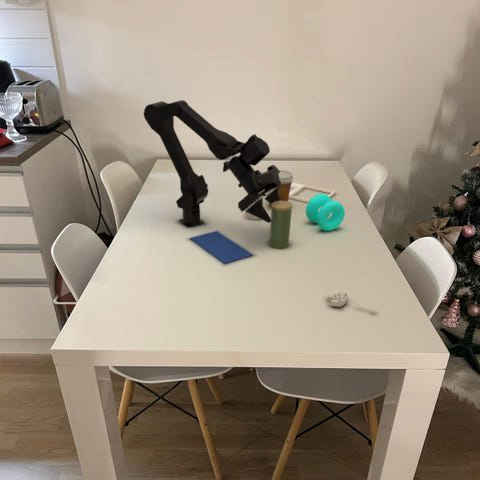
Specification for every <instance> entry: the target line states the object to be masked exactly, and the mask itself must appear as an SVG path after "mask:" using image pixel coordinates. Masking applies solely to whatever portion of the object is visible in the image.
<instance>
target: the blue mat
mask: <svg viewBox="0 0 480 480" xmlns="http://www.w3.org/2000/svg"><path fill="white" fill-rule="evenodd" d="M189 240H190V241H192V242H193V243H194V244H196V245H198V246H199V247H200V248H201V249H202V250H204V251H206V252H207V253H209V254H210V255H211V256H213V257H214V258H216V259H217V260H218V261H219V262H221V263H222V264H224V265H226V264H227V265H228V264H231V263H233V262H238V261H240V260H241V261H242V260H243V259H247V258H250V257H253V256H254V254H253V253H251V252H249V251H248V250H246V248H244V247H242V246H241V245H239V244H237V243H235V241H233V240H232V239H230V238H228V237H227V236H225V235H223V234H222V233H220V232H219V231H217V230H216V231H212V232H208V233H204V234H200V235H196V236H192V237H189Z"/></svg>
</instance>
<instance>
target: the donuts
mask: <svg viewBox="0 0 480 480" xmlns="http://www.w3.org/2000/svg"><path fill="white" fill-rule="evenodd" d="M328 195H329V194H325V193H318V194H315V195H314V196H312V197H311V198H310V199H309V200H310V201H309V202H307V204H306V207H305V215H306V217H307V219H308V220H309V221H310V222H311V223H314V224H317V225H318V227H319V228H320V229H321V230H323V231H326V232H331V231H334V230H335V229H337V228H338V227H340V225H341V224H342V223H343V221H344V219H345V214H346V213H345V211H346V210H345V207H344V205H343V203H341V202H340V201H338V200H332V198H331V197H329V196H328Z"/></svg>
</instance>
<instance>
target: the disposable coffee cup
mask: <svg viewBox="0 0 480 480" xmlns="http://www.w3.org/2000/svg"><path fill="white" fill-rule="evenodd" d="M279 170H280V173H279V174H278V175H279V178H280V179H279V180H280V182H281V184H280V185H279V186H281V188H280V190H279V196H280V199H281V201H287V202H289V199H290V198H289V193H290V188H291V184H292V183H293V181H294V176H293V173H292V172H291V171H288V170H281V169H279ZM279 186H278V187H279ZM268 204H269V205H268V207H269V208H270V209H271V208H272V206H271V204H270V203H269V202H268Z"/></svg>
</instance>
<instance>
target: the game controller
mask: <svg viewBox="0 0 480 480" xmlns="http://www.w3.org/2000/svg"><path fill="white" fill-rule="evenodd" d="M328 301H329V302H330V306H332V307H342V306H344V305H346V304H347V303H349V304H350V302H349V294H348V293H346V292H343V291H338V292H337V294H330V295H328ZM351 304H355V305H357V306H359V304H358V303H355V302H351ZM364 310H365V311H366V310H367V308H366V309H365V308H364ZM370 311H372V312H373V310H372V309H370Z"/></svg>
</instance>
